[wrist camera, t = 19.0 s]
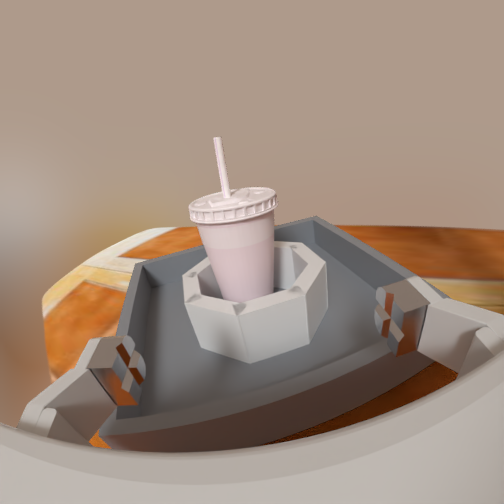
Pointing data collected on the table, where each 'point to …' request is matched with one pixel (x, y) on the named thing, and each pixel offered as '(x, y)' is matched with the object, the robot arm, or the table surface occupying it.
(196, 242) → the table surface
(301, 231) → the tray
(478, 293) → the table surface
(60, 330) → the table surface
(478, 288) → the table surface
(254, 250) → the smoothie
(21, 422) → the robot arm
